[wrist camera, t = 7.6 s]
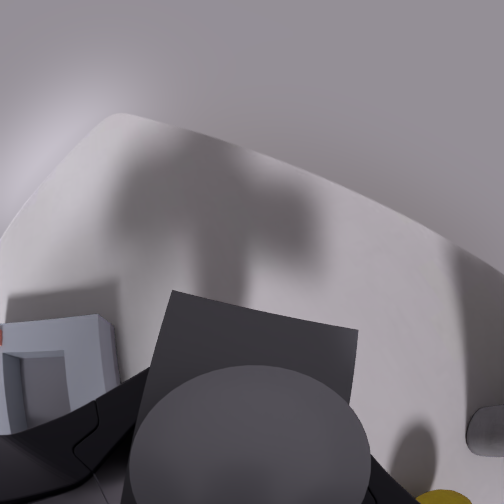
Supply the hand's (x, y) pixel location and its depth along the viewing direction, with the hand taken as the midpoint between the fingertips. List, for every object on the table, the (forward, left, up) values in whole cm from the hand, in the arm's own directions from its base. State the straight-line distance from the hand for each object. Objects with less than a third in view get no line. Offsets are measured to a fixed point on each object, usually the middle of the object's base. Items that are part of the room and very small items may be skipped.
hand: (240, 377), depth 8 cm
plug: (-1, -1, -7) cm, 7 cm away
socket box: (-11, +8, -13) cm, 19 cm away
